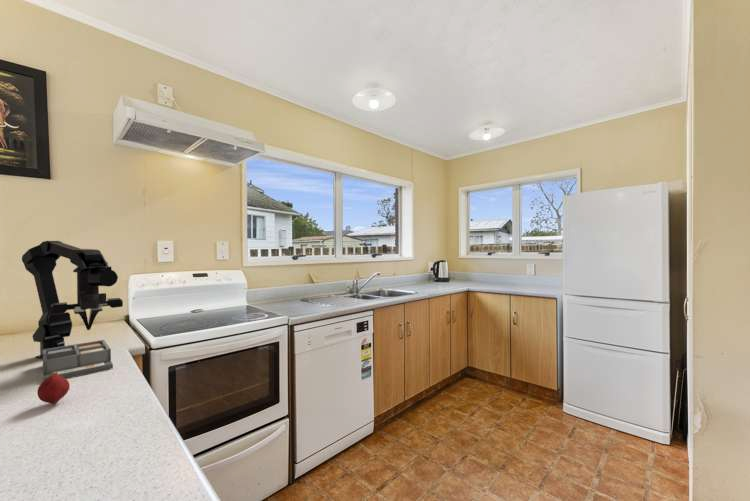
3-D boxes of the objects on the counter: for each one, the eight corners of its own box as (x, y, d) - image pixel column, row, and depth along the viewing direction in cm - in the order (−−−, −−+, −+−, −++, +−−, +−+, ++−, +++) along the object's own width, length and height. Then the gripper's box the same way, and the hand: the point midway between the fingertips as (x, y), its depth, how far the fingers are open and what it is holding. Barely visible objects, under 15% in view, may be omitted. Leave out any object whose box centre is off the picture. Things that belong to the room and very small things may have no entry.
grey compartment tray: (42, 365, 111) (42, 349, 111) (104, 354, 122) (104, 339, 122) (43, 383, 97) (43, 364, 97) (112, 368, 108) (112, 351, 108)
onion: (49, 410, 81) (48, 377, 81) (31, 408, 82) (30, 376, 82) (75, 399, 86) (74, 369, 86) (58, 397, 88) (57, 367, 87)
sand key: (80, 356, 111) (80, 351, 111) (103, 351, 115) (103, 347, 115) (81, 360, 107) (81, 355, 107) (105, 355, 111) (105, 351, 111)
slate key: (47, 356, 111) (47, 351, 111) (72, 352, 115) (72, 347, 115) (48, 360, 107) (48, 356, 106) (73, 356, 111) (73, 351, 111)
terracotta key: (78, 351, 116) (78, 346, 116) (100, 347, 120) (100, 343, 120) (79, 355, 112) (79, 350, 112) (102, 350, 116) (102, 346, 116)
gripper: (50, 290, 103) (51, 339, 103) (124, 285, 116) (125, 329, 116) (50, 286, 111) (51, 333, 111) (120, 282, 124) (120, 323, 124)
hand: (88, 329), depth 116 cm, fingers closed
